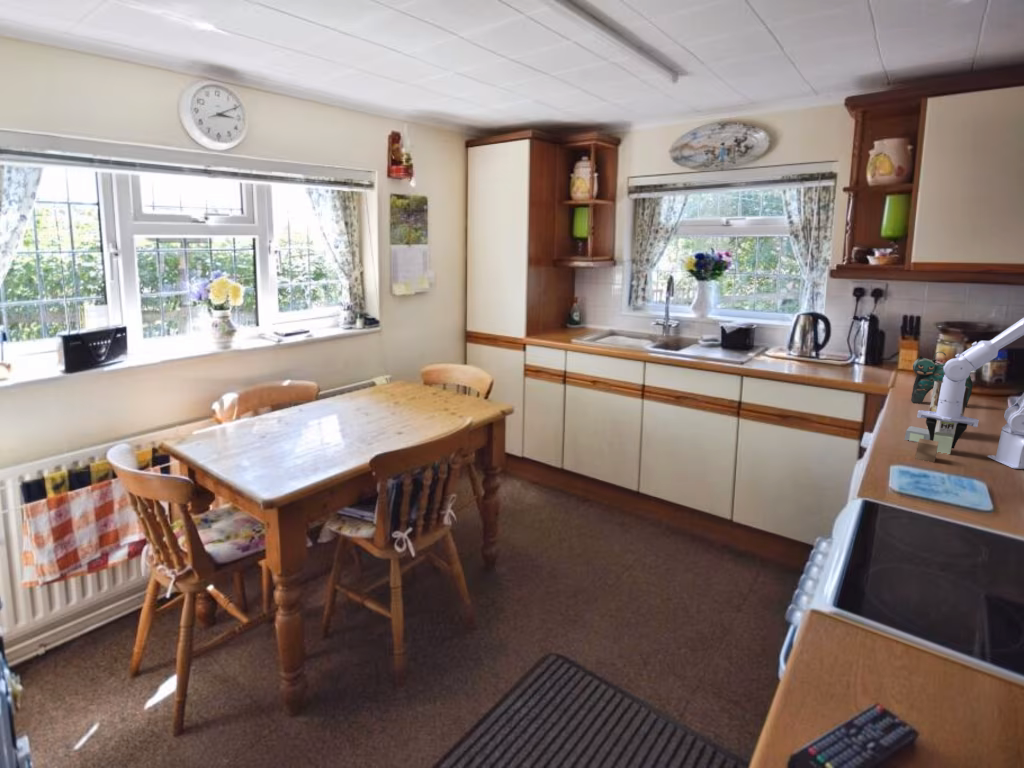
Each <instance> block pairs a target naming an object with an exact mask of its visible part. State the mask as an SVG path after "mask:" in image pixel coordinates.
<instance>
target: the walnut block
mask: <svg viewBox="0 0 1024 768" xmlns="http://www.w3.org/2000/svg"><path fill="white" fill-rule="evenodd" d="M937 448H938V441H932V440H926V439H921V438H920V439H919V441H918V443H917V447H916V453H915V460H918V459H919V460H918V461H923V460H924V462H928V461H929V462H928V463H935V461H936V457H937V453H938V452H937Z"/></svg>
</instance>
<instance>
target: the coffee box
mask: <svg viewBox="0 0 1024 768" xmlns="http://www.w3.org/2000/svg"><path fill="white" fill-rule="evenodd" d="M942 383H943V381H934V387H933V389H932V393H931V401H930V406H929V411H932V412H936V411H937V406H938V401H939V395H940V390H941V384H942ZM968 391H969V387H967V386H966V388H965V393H964V398H963V403H962V409H961V414H960V416H965V410H966V407H965V406H966V401H967V396H968ZM956 425H957V423H951V422H945V421H939V420H937V423H936V428H935V432H942V433H948V434H954V435H955V430H956ZM926 429H928V427H927V426H926Z"/></svg>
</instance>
